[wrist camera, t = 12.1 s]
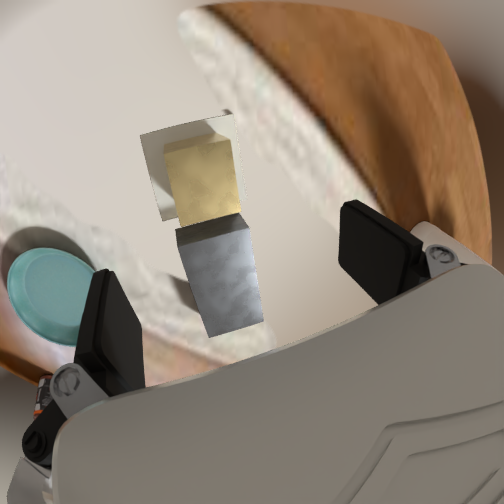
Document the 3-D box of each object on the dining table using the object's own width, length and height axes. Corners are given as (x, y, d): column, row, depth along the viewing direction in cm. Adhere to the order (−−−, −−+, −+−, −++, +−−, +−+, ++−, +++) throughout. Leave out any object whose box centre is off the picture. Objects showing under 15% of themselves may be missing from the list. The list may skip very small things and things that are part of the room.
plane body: (175, 229, 28) (177, 247, 25) (238, 212, 29) (249, 227, 26) (203, 316, 35) (209, 337, 32) (253, 301, 36) (263, 321, 33)
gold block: (164, 144, 23) (163, 154, 18) (216, 132, 24) (230, 139, 19) (177, 202, 26) (181, 226, 21) (225, 190, 27) (241, 211, 22)
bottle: (396, 260, 42) (519, 380, 18) (412, 218, 39) (554, 332, 14) (421, 259, 45) (530, 360, 20) (436, 221, 41) (558, 318, 17)
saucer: (139, 300, 31) (139, 315, 29) (71, 346, 32) (68, 360, 29) (57, 211, 23) (49, 221, 21) (-2, 279, 23) (-10, 291, 21)
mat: (140, 135, 22) (139, 135, 22) (232, 113, 24) (234, 114, 23) (162, 219, 27) (162, 221, 27) (245, 197, 29) (247, 199, 28)
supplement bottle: (34, 372, 31) (24, 427, 22) (61, 373, 33) (54, 432, 24) (48, 391, 34) (42, 443, 25) (74, 392, 36) (71, 447, 27)
